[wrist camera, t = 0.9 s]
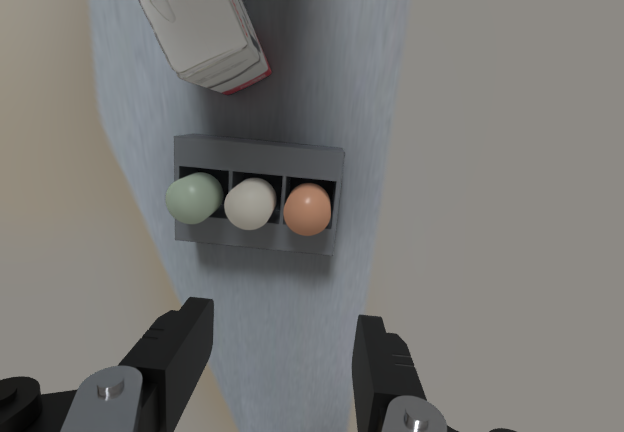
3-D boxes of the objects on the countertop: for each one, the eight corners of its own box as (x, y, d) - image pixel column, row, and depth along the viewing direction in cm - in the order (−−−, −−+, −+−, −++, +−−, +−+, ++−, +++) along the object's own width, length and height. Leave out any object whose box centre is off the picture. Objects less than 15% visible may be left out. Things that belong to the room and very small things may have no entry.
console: (193, 133, 33) (173, 136, 29) (342, 148, 33) (344, 152, 29) (193, 225, 36) (175, 239, 31) (331, 239, 36) (332, 255, 31)
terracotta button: (289, 180, 29) (285, 187, 26) (332, 185, 29) (333, 192, 26) (285, 222, 30) (281, 233, 27) (328, 226, 30) (328, 238, 27)
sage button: (180, 170, 29) (165, 175, 27) (224, 174, 29) (213, 180, 27) (181, 212, 30) (165, 221, 28) (222, 216, 30) (212, 226, 27)
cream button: (234, 175, 29) (225, 181, 26) (278, 179, 29) (273, 186, 26) (233, 217, 30) (223, 227, 27) (275, 221, 30) (270, 232, 27)
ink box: (277, 73, 32) (249, 48, 20) (227, 97, 32) (172, 84, 21) (234, -28, 30) (177, -121, 18) (182, -1, 30) (95, -74, 19)
